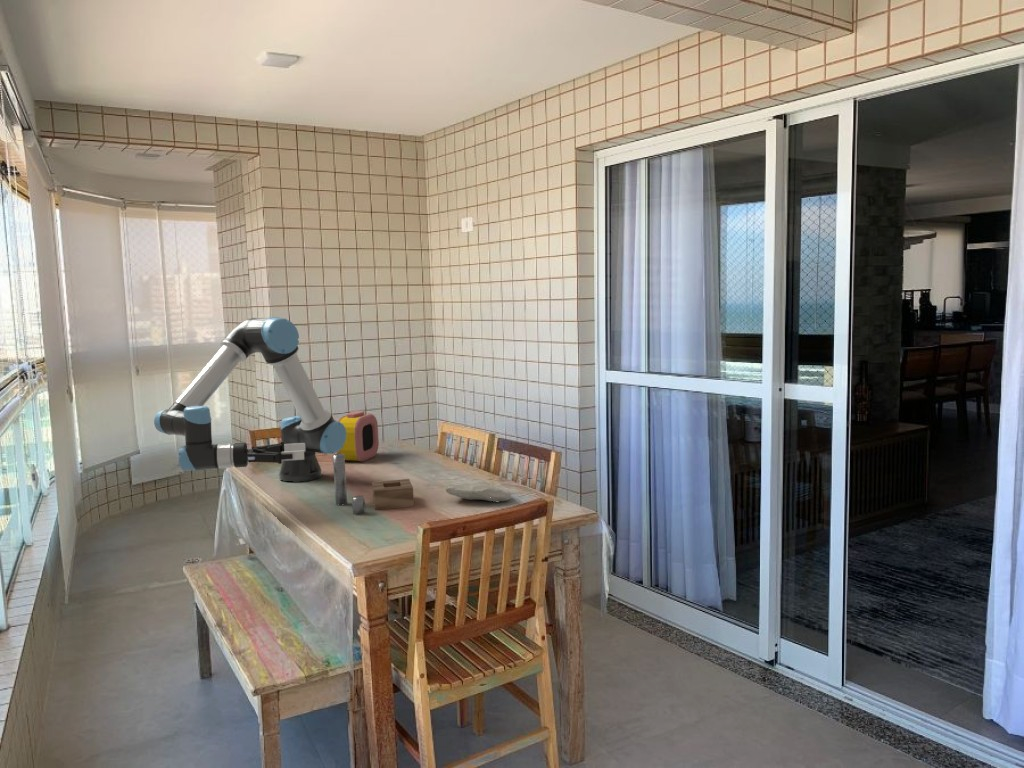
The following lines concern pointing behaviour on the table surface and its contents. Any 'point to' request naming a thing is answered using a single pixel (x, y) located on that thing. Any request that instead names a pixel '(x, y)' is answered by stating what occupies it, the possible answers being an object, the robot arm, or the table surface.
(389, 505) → the collar block
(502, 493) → the rock
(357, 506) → the short peg
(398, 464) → the table surface
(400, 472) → the table surface
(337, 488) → the tall peg
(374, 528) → the table surface
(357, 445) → the alarm clock
